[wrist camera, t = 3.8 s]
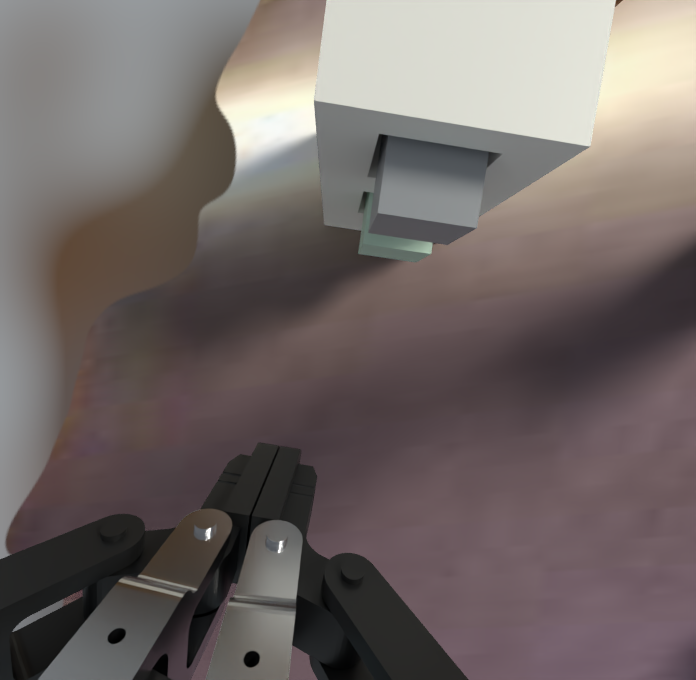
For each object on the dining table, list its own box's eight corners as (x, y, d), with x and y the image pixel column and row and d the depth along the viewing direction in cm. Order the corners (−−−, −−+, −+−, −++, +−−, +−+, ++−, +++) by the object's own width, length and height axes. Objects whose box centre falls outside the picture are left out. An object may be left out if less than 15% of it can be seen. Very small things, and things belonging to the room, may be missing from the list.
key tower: (453, 144, 40) (633, -101, 16) (438, 242, 41) (590, 146, 17) (337, 124, 40) (346, -159, 16) (324, 225, 40) (313, 100, 16)
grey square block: (462, 146, 24) (496, 103, 19) (447, 244, 24) (476, 228, 20) (382, 133, 24) (395, 86, 19) (368, 232, 24) (377, 212, 19)
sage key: (426, 190, 33) (443, 169, 28) (416, 262, 33) (431, 254, 28) (368, 181, 33) (374, 158, 28) (358, 253, 33) (362, 243, 28)
